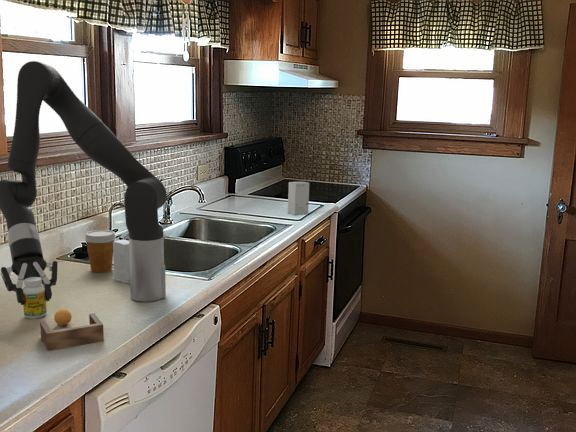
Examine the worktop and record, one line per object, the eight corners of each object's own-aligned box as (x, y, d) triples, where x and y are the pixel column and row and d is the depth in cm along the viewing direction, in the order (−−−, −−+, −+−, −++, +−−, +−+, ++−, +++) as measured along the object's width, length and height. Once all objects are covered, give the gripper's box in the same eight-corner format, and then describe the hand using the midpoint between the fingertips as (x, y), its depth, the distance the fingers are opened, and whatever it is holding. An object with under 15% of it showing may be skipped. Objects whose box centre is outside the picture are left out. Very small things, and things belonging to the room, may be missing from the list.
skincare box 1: (137, 280, 192) (137, 242, 190) (126, 283, 189) (125, 244, 187) (124, 276, 196) (123, 238, 193) (113, 279, 193) (112, 241, 190)
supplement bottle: (43, 310, 165) (41, 274, 163) (48, 316, 161) (46, 280, 159) (21, 313, 162) (19, 277, 160) (26, 320, 158) (23, 283, 156)
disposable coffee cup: (91, 265, 207) (90, 229, 205) (120, 266, 207) (119, 230, 204) (81, 273, 198) (79, 236, 195) (111, 274, 197) (110, 237, 195)
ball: (71, 321, 159) (70, 306, 158) (72, 327, 155) (71, 311, 155) (54, 322, 158) (53, 307, 157) (54, 328, 154) (53, 313, 153)
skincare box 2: (294, 215, 293) (295, 183, 289) (286, 213, 297) (287, 181, 294) (309, 213, 297) (310, 182, 294) (301, 211, 302) (302, 180, 299)
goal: (94, 328, 155) (94, 313, 154) (103, 340, 148) (103, 324, 147) (40, 337, 148) (40, 321, 148) (47, 350, 142) (46, 333, 141)
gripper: (-5, 239, 160) (5, 299, 153) (55, 234, 168) (67, 290, 160) (-6, 254, 166) (3, 313, 158) (52, 248, 173) (63, 304, 166)
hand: (35, 301), depth 159 cm, fingers closed on supplement bottle, 5 cm apart
